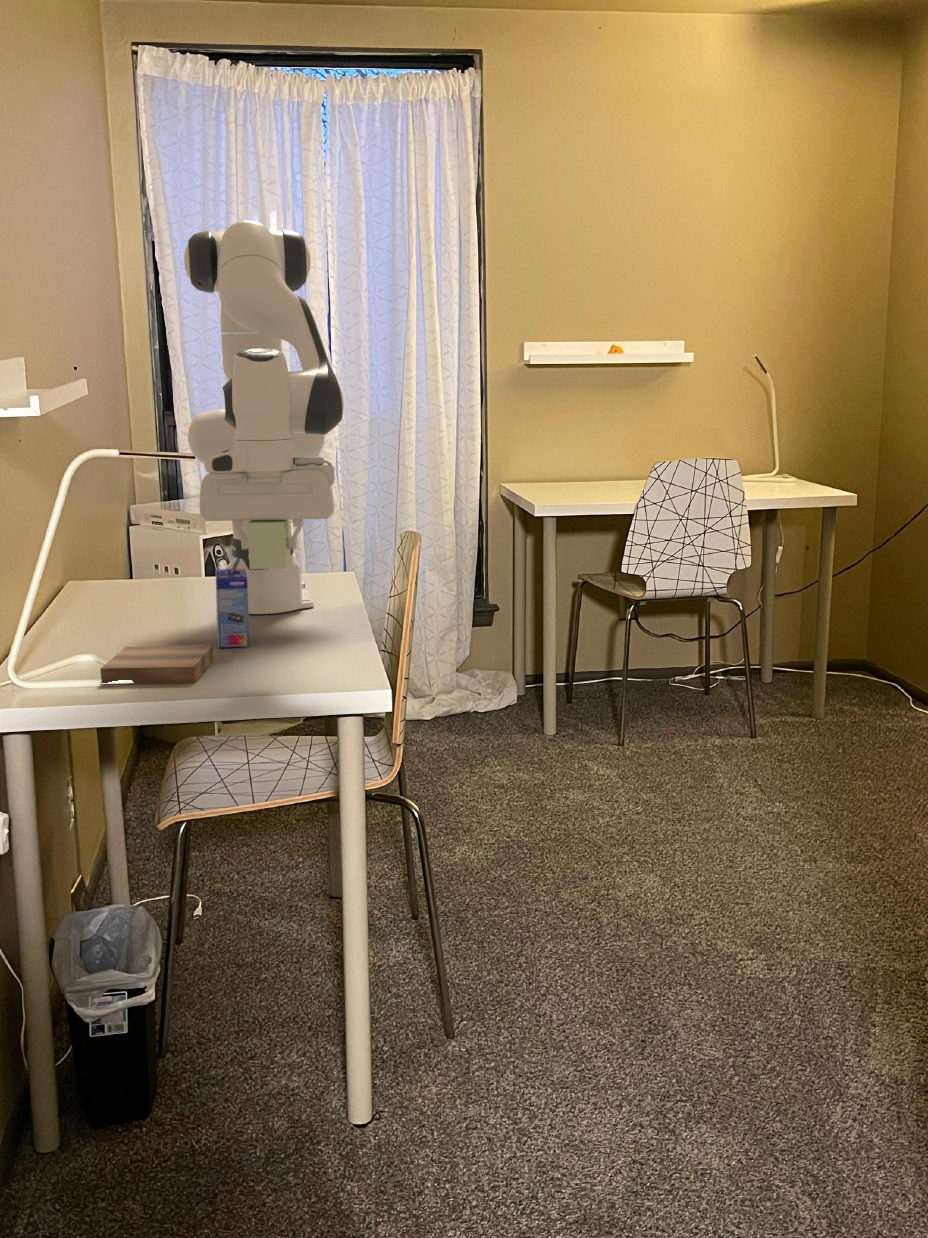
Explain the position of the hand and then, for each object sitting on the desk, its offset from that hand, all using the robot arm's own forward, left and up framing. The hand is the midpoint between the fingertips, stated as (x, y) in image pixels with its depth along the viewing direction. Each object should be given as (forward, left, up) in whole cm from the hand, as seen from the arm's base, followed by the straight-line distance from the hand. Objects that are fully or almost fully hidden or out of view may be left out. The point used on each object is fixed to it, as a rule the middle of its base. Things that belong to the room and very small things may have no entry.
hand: (269, 548), depth 178 cm
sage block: (0, 0, -3) cm, 3 cm away
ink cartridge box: (-19, -10, -19) cm, 29 cm away
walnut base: (+1, -18, -19) cm, 26 cm away
